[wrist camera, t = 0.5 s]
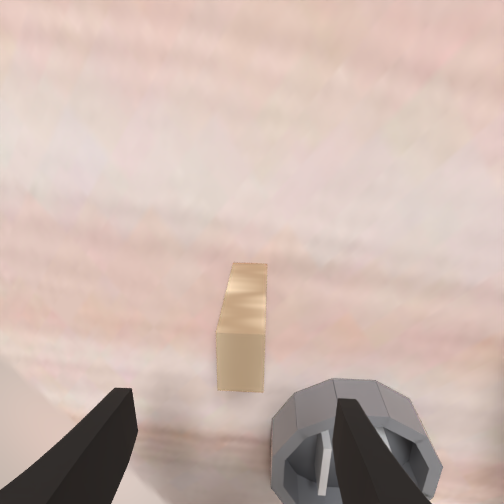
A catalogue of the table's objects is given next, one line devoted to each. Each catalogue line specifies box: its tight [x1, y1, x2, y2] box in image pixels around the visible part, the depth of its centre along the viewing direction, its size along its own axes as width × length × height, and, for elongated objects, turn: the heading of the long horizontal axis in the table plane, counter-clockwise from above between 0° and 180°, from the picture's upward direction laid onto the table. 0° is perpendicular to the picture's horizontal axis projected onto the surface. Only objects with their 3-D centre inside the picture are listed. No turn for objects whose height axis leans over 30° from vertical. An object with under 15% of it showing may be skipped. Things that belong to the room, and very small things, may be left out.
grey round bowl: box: [271, 379, 443, 504], centre depth 24 cm, size 11×11×3 cm
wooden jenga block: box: [216, 263, 267, 393], centre depth 18 cm, size 2×3×7 cm, turn 179°
